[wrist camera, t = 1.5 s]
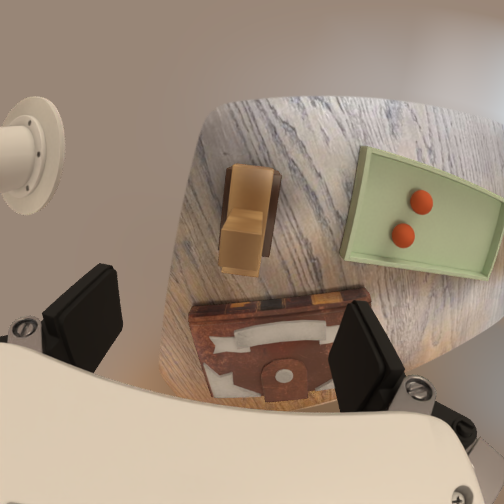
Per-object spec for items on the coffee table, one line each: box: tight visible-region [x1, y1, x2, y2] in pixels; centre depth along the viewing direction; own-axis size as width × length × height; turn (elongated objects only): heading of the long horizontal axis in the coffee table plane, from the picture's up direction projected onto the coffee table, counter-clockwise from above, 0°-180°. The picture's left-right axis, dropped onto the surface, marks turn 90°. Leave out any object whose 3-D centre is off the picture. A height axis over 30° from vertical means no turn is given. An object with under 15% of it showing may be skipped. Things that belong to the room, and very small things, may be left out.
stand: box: [218, 166, 282, 257], centre depth 28 cm, size 5×8×6 cm, turn 173°
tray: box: [339, 146, 504, 281], centre depth 29 cm, size 27×13×2 cm, turn 83°
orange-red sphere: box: [392, 223, 415, 248], centre depth 29 cm, size 3×3×3 cm
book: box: [188, 287, 371, 402], centre depth 35 cm, size 23×16×5 cm
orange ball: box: [410, 190, 433, 215], centre depth 27 cm, size 3×3×3 cm
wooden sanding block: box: [218, 164, 274, 277], centre depth 21 cm, size 3×9×10 cm, turn 173°
